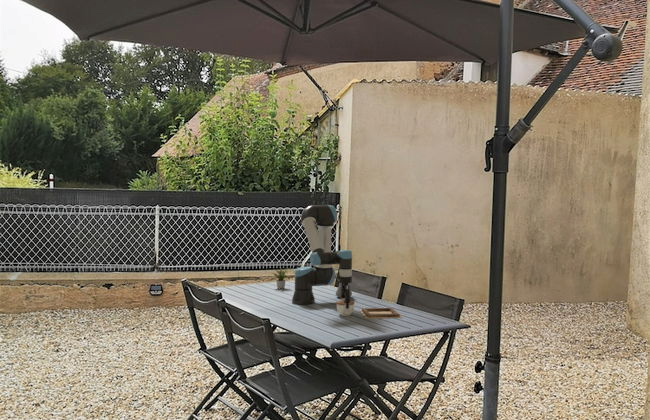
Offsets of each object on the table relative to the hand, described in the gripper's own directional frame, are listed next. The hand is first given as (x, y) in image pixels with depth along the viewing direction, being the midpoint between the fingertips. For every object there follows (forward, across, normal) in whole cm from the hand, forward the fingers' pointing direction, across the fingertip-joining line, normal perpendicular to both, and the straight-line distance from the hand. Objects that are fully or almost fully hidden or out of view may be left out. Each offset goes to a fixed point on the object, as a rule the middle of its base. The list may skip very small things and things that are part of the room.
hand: (345, 311), depth 346 cm
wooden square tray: (+2, +1, +21) cm, 21 cm away
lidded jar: (+2, 0, 0) cm, 2 cm away
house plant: (+2, -97, -34) cm, 103 cm away
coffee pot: (+2, -59, +5) cm, 59 cm away
